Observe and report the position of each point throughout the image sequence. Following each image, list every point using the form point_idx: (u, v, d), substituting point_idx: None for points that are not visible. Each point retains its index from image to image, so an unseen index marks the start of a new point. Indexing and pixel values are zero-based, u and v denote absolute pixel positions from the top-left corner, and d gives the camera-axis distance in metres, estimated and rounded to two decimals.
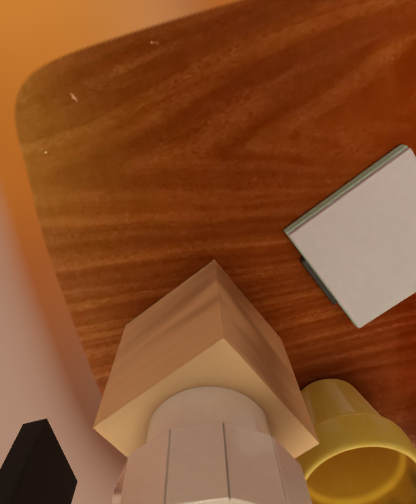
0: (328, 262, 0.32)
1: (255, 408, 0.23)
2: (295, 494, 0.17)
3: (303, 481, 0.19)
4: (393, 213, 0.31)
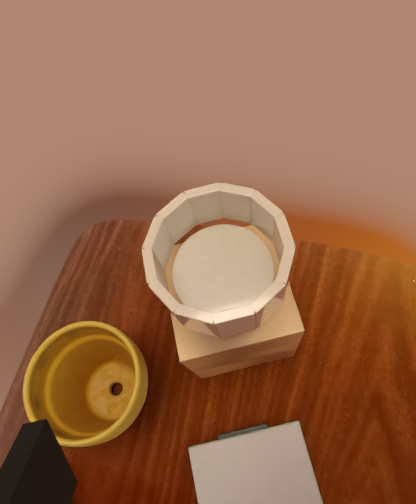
0: (262, 445, 0.37)
1: None
2: (241, 323, 0.25)
3: (223, 333, 0.26)
4: None
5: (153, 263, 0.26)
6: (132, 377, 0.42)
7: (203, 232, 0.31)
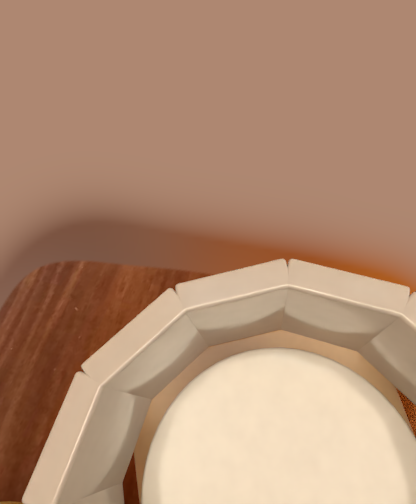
0: None
1: None
2: None
3: None
4: None
5: None
6: None
7: (228, 369, 0.12)
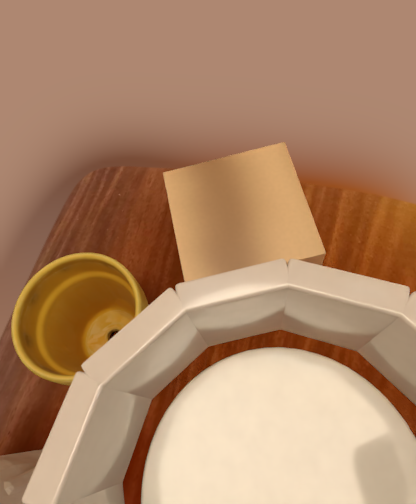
0: None
1: None
2: None
3: None
4: None
5: None
6: None
7: (228, 369, 0.12)
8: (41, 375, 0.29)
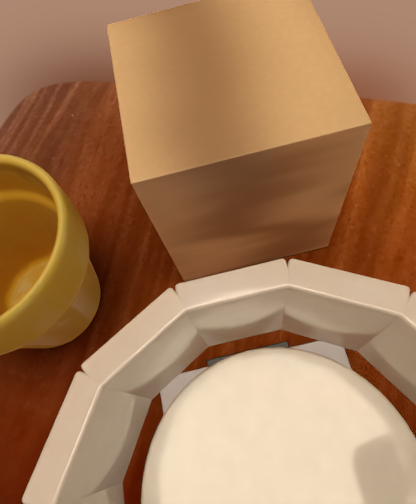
0: None
1: None
2: None
3: None
4: None
5: None
6: None
7: (228, 369, 0.12)
8: None
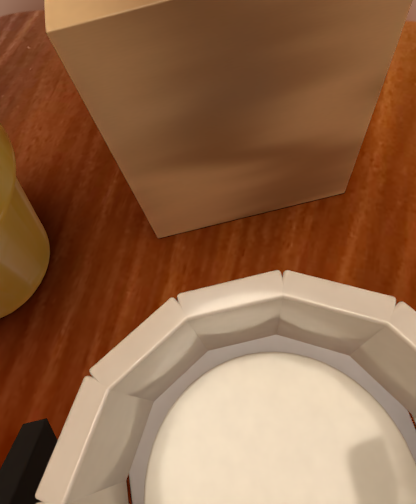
0: None
1: None
2: None
3: None
4: None
5: None
6: None
7: (226, 372, 0.12)
8: None
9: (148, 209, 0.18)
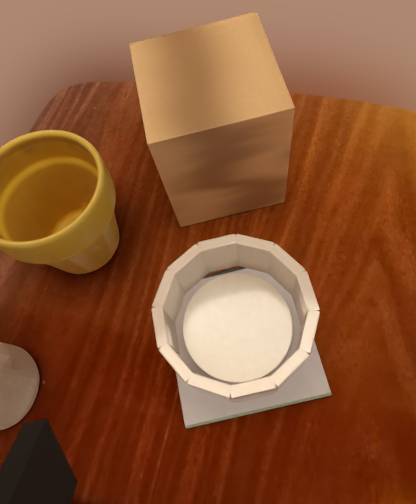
0: None
1: None
2: (260, 394, 0.23)
3: (239, 400, 0.24)
4: None
5: (164, 324, 0.24)
6: None
7: (216, 281, 0.29)
8: None
9: (177, 211, 0.34)
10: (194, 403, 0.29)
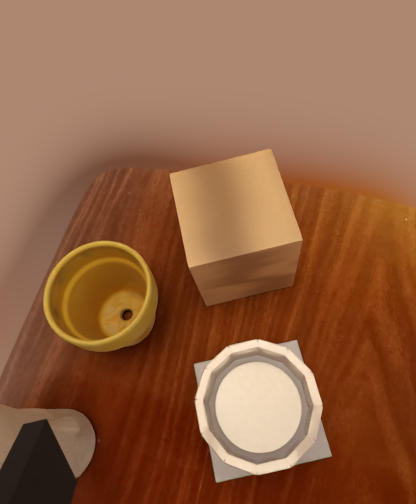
0: (262, 360, 0.40)
1: None
2: None
3: None
4: None
5: (205, 414, 0.31)
6: (141, 304, 0.45)
7: (240, 368, 0.36)
8: (69, 340, 0.35)
9: (205, 298, 0.42)
10: (223, 463, 0.37)
